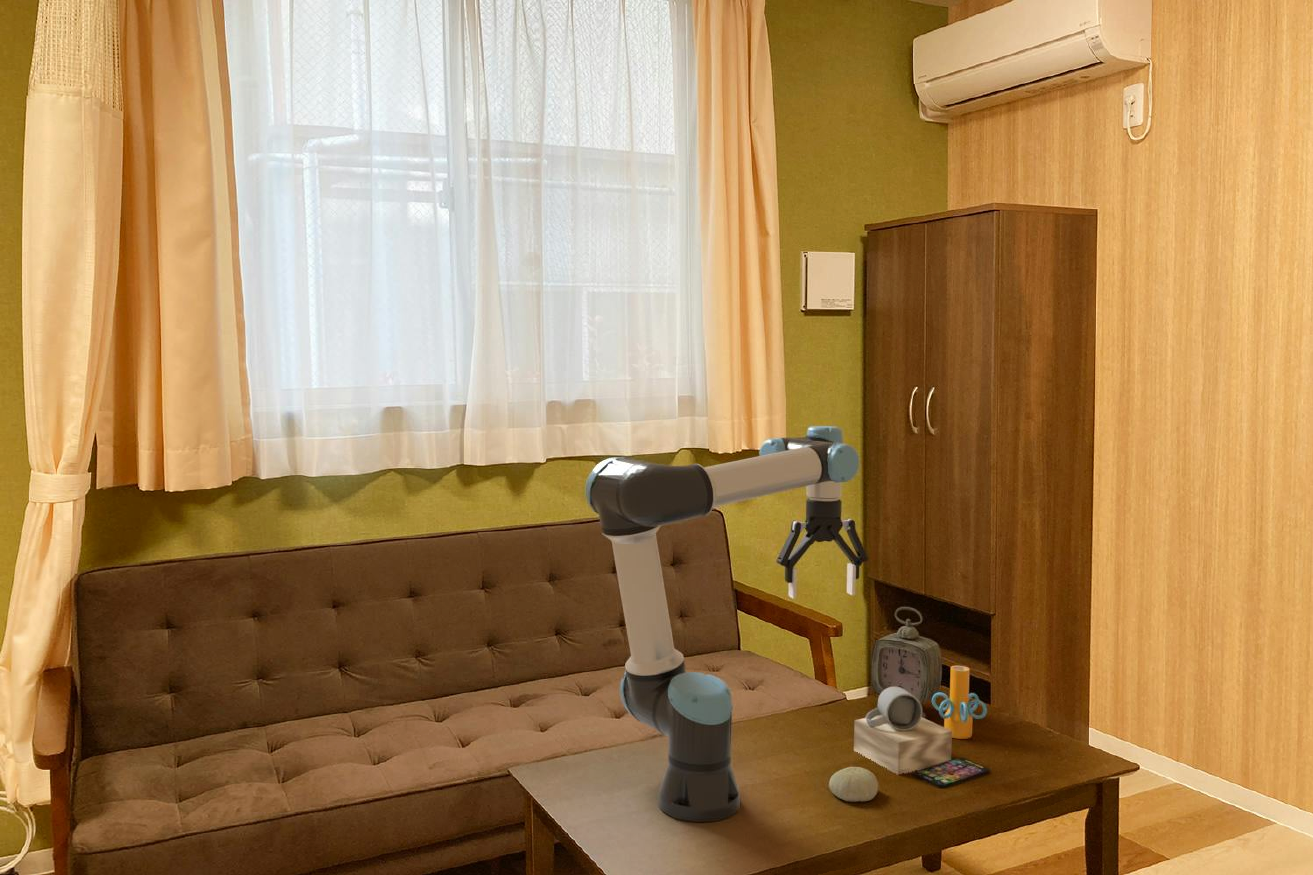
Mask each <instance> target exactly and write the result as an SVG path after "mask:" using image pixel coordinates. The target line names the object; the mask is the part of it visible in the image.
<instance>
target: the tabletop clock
mask: <svg viewBox="0 0 1313 875" xmlns="http://www.w3.org/2000/svg"><path fill="white" fill-rule="evenodd" d="M903 610H905V611H910V612H914V613H916V614H917V615H918V616H919V619H920V621H918V622H912V620H911V619H910V618H907V619H906V620H905V621H904V620H902V619H900V618H899V617H898V615H897V614H898V612H899V611H903ZM894 617H895V619H896V620H897V622H899V623H900V624H903V625H904V626H901V627H900V628H898V630H897V631H896V632H895V633H891V634H887V635H886V636H883V637H881V638H879V639H876V640H875V642H874V644H873V646H872V651H871V660H870V676H871V677H870V678H871V685H872V689H873V691H874V693H875V694H877V695H878V696H880V694H881V693H882V691H883V690H885V689H886V688H889V687H900V688H903V689H904V690H906V691H907V692H909V693H910V694H912V695H913V696H915V697H916V698H917V699H918V700H919V702H920V704H921V706H922V718H925V719H927V714H926V713H925V712H924V709H923V708H924V707H923V704H925V703H926V702H928V701H930V700H932V697H933V696H934V694H936V693H940V692H939V691H940V689H941V688H940V687H941V683H942V682H941V681H942V674H943V667H942V666H943V664H942V663H943V661H942V652H941V649H940V646H939V643H937V642H936V641H934V640H933V639H932V638H931V639H930V638H927V637H924V636H920V634H919V631H918V630H917V629H916V626H919V625H920V624H922V622H923V619H924V618H923V616H922V613H921V612H920V611H919V610H917V609H916V608H913V607H910V606H900V607H898V608H897V609H896V610H895V612H894ZM877 707H878V703H877V706H876V708H877Z"/></svg>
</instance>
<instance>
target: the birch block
mask: <svg viewBox="0 0 1313 875" xmlns="http://www.w3.org/2000/svg"><path fill="white" fill-rule="evenodd" d="M880 717H883V716H882V715H881V714H879V715H877V716H875V717H874V718H873V719H878V718H880ZM873 719H871V720H873ZM853 726H854V729H853V730H854V734H853V751H854V752H855V753H857V752H858V753H857V754H859V753H860V754H859V755H861V754H862V755H861V756H863V757H864V756H865V757H864V758H866V759H869V760H870V759H871V760H870V761H872V762H873V761H874V763H875V762H876V763H875V764H877V765H879V766H881V767H882V766H883V767H882V768H884V767H885V769H886V768H887V769H886V770H888V771H890V772H892V773H894V774H895V773H896V774H895V775H897V776H899V775H898V774H900V775H903V774H902V773H904V774H909V773H913V772H915V770H917V771H918V770H920V769H923V768H927V767H931V766H934V765H937V764H940V763H944V762H947V761H950V760H952V731H951V730H948V729H946V728H944V726H942V725H941V724H937V723H935V722H934V721H932V720H928V719H927V718H922V717H921V720H920V722H919V723H918V724H917V726H916V727H914V728H913V729H911V730H907V731H900V730H897V729H895V728H893V727H892V726H891V725H890V724H889V723H886V724H883V725H880V726H876V727H871V726H869V725H868V723H867V721H866V717H863V718H858V719H854V725H853ZM912 771H913V772H912ZM908 772H909V773H908Z"/></svg>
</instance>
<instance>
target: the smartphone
mask: <svg viewBox="0 0 1313 875" xmlns="http://www.w3.org/2000/svg"><path fill="white" fill-rule="evenodd" d="M912 774H913V776H915V777H914V778H916V777H917V779H918V778H919V779H918V780H921V781H922V780H924V781H926V782H928V783H927V784H929V783H930V784H929V785H932V786H933V787H936V788H938V789H945V788H948V787H950V786H954V785H957V784H960V783H963V782H967V781H969V780H972V779H976V778H978V777H982V776H984V775H987V774H990V768H989V767H987V766H984V765H982V764H979V763H978V762H975V761H973V760H970V759H967V758H965V757H958V758H957V757H956V758H954V759H951V760H950V761H947V762H944V763H940V764H937V765H934V766H931V767H927V768H924V769H921V770H917V771H913V773H912ZM924 781H923V782H924ZM926 782H925V783H926ZM944 787H945V788H944Z"/></svg>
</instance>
